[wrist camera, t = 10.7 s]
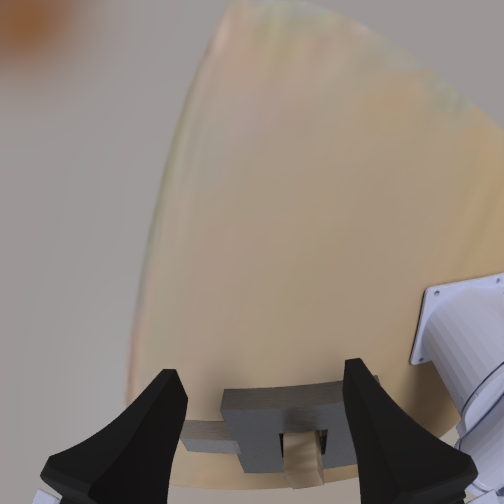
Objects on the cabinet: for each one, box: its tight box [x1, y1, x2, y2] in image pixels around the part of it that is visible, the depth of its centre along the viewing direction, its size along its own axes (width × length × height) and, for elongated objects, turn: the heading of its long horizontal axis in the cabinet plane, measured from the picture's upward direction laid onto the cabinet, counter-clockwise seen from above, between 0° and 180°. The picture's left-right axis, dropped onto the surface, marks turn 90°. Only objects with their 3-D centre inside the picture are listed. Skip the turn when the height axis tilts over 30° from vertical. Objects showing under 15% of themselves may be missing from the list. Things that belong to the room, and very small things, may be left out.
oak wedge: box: [283, 430, 324, 489], centre depth 24 cm, size 3×4×7 cm
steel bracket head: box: [180, 375, 381, 473], centre depth 26 cm, size 20×14×2 cm
